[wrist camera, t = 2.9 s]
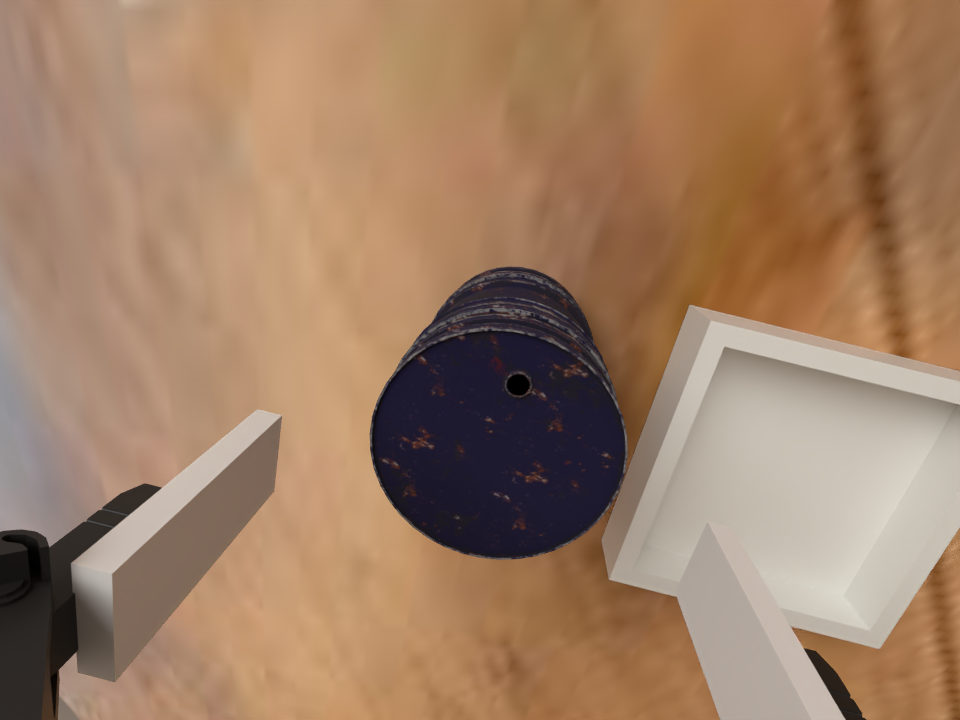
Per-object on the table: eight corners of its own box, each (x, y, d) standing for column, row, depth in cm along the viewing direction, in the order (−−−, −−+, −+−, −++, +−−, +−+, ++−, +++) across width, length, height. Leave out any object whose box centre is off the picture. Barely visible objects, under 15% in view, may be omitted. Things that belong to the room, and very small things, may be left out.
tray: (844, 602, 37) (879, 649, 33) (601, 540, 37) (609, 579, 33) (979, 375, 31) (1041, 401, 27) (689, 304, 31) (711, 320, 28)
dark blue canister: (559, 428, 35) (577, 591, 21) (421, 387, 35) (345, 521, 21) (611, 290, 32) (674, 371, 17) (458, 244, 32) (398, 288, 17)
